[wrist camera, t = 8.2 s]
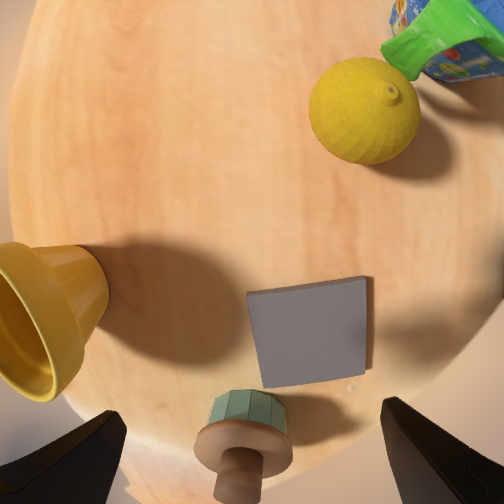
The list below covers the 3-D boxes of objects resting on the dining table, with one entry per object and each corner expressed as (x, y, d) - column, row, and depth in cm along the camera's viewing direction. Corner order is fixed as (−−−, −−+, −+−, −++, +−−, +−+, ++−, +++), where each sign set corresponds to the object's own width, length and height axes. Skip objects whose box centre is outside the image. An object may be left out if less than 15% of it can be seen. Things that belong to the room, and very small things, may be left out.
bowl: (281, 387, 21) (281, 421, 17) (288, 435, 23) (288, 467, 19) (203, 391, 22) (192, 423, 18) (220, 437, 23) (214, 468, 20)
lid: (288, 416, 17) (288, 472, 12) (295, 468, 19) (296, 514, 14) (184, 418, 18) (165, 468, 13) (210, 470, 20) (199, 512, 15)
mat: (362, 275, 18) (366, 279, 18) (362, 368, 20) (364, 373, 19) (247, 292, 19) (246, 296, 19) (264, 382, 21) (263, 388, 20)
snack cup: (408, 142, 16) (509, 119, 6) (313, 24, 15) (335, -73, 5) (506, 72, 13) (577, 49, 3) (435, -19, 11) (483, -70, 1)
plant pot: (113, 359, 22) (55, 428, 13) (34, 297, 22) (-34, 339, 12) (149, 265, 20) (64, 327, 10) (54, 201, 19) (-38, 220, 10)
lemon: (398, 140, 16) (467, 120, 8) (337, 184, 17) (382, 187, 9) (349, 73, 15) (389, 16, 8) (284, 115, 16) (290, 67, 9)
